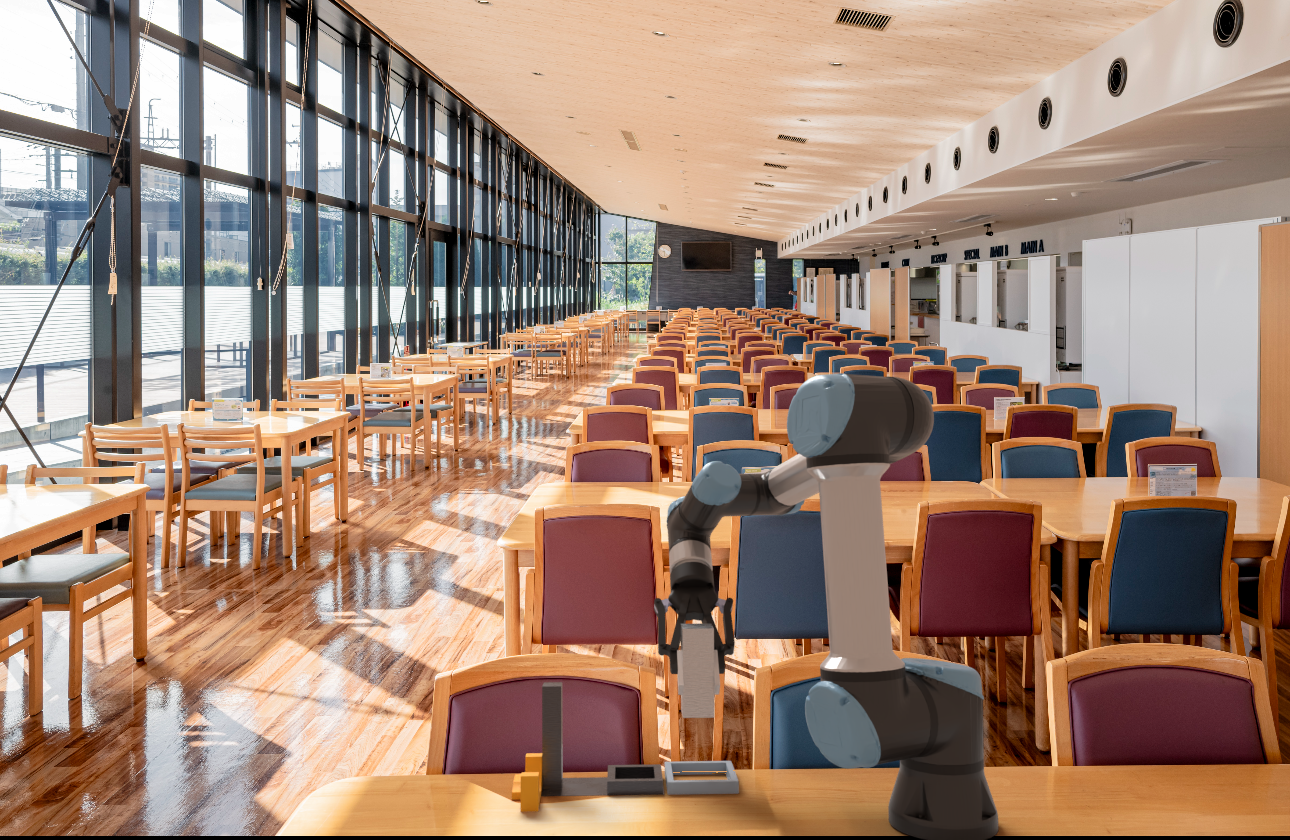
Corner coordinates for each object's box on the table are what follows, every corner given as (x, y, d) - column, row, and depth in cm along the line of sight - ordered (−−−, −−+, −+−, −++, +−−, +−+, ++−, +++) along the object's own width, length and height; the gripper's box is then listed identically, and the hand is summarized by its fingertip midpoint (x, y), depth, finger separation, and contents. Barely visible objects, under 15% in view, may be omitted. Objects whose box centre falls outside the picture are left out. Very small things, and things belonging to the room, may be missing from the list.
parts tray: (731, 779, 167) (731, 760, 167) (738, 801, 156) (738, 781, 156) (664, 780, 167) (664, 761, 167) (667, 802, 156) (667, 782, 156)
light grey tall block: (711, 709, 165) (711, 623, 166) (714, 717, 160) (713, 628, 161) (681, 710, 165) (680, 623, 166) (682, 717, 160) (682, 628, 161)
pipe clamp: (515, 794, 160) (515, 753, 161) (542, 794, 161) (542, 753, 161) (508, 821, 148) (508, 776, 149) (538, 820, 149) (538, 776, 149)
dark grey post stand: (662, 783, 165) (661, 677, 166) (664, 802, 156) (663, 689, 157) (545, 785, 164) (545, 678, 165) (540, 804, 155) (540, 690, 156)
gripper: (741, 586, 179) (754, 702, 162) (639, 587, 179) (641, 703, 161) (744, 559, 174) (758, 676, 157) (639, 559, 173) (642, 677, 156)
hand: (699, 689), depth 159 cm, fingers closed on light grey tall block, 5 cm apart
